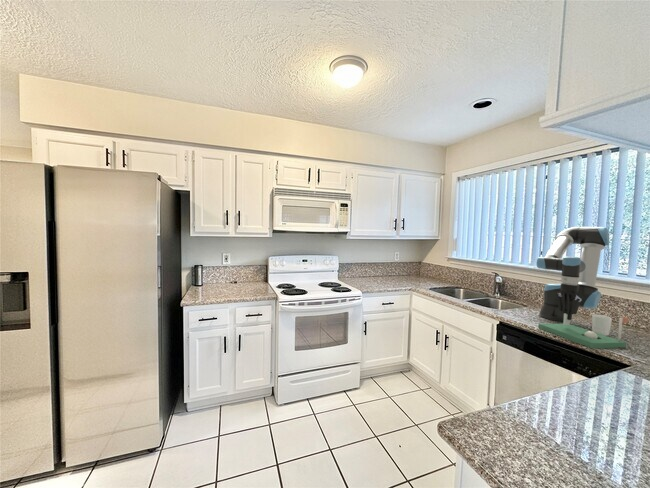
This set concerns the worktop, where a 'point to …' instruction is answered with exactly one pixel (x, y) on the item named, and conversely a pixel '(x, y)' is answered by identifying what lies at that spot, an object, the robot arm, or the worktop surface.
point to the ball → (591, 335)
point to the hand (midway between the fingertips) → (566, 324)
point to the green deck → (578, 336)
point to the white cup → (601, 324)
